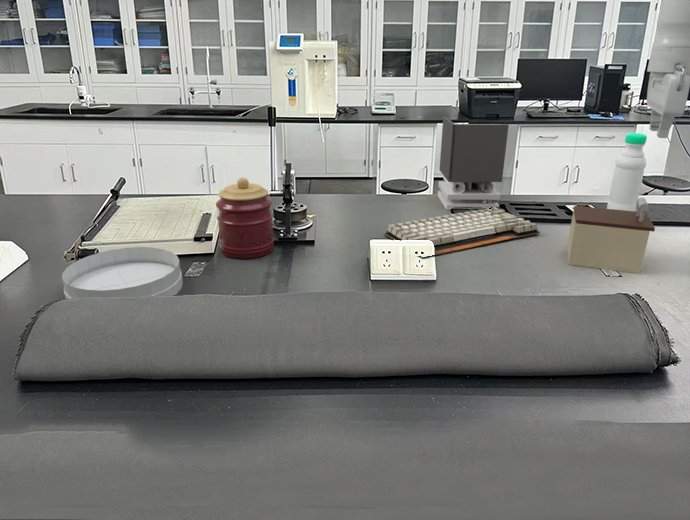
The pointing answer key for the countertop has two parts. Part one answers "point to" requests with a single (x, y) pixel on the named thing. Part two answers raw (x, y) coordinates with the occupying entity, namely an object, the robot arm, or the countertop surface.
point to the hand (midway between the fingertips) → (657, 134)
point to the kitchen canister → (245, 220)
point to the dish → (124, 274)
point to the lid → (615, 217)
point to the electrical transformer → (471, 164)
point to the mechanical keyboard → (463, 229)
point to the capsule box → (606, 247)
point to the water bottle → (628, 174)
